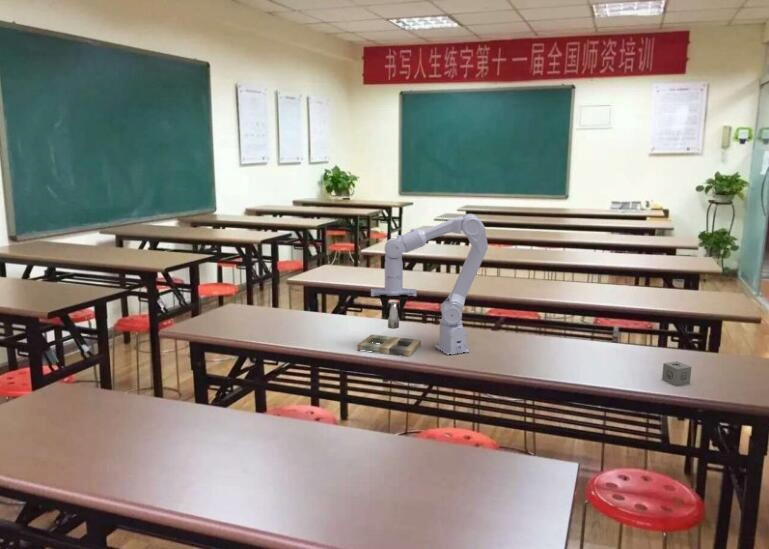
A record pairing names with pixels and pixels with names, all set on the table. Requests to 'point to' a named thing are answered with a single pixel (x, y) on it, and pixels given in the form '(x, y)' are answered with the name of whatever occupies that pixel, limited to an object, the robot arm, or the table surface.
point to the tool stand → (390, 345)
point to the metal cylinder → (393, 315)
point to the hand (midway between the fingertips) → (393, 317)
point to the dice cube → (676, 373)
